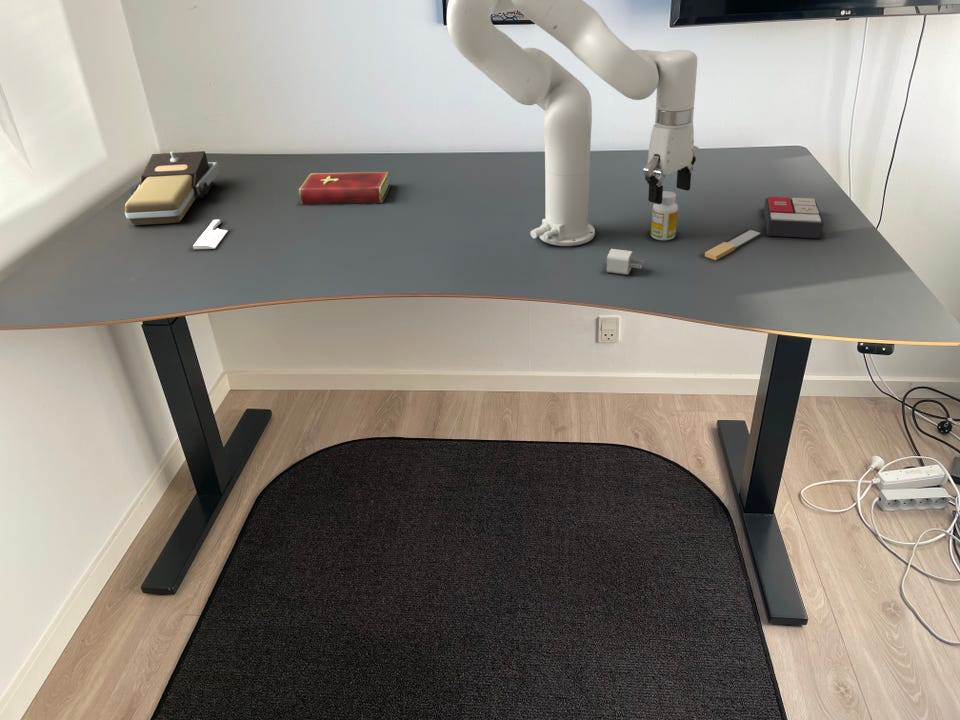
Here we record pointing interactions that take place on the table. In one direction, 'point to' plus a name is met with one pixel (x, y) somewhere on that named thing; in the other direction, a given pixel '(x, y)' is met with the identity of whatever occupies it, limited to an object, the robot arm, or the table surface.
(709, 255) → the chisel
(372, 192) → the hardcover book
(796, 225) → the calculator
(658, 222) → the supplement bottle
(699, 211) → the table surface
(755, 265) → the table surface
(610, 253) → the usb wall charger
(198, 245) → the butcher knife
